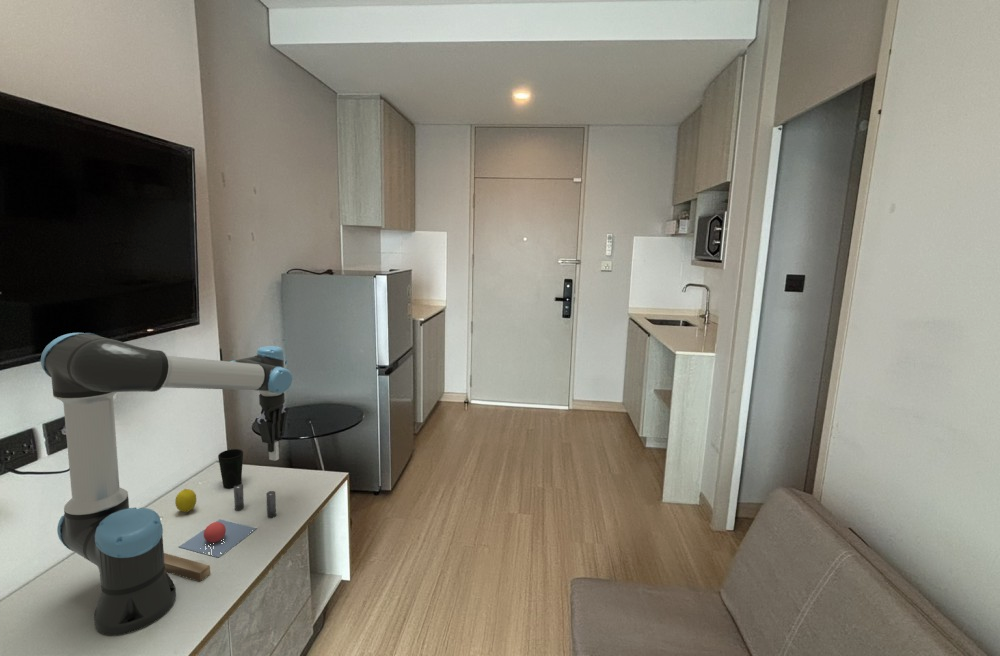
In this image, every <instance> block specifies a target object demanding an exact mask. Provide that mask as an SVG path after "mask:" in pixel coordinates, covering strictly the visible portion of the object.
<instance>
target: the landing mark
mask: <svg viewBox="0 0 1000 656" xmlns="http://www.w3.org/2000/svg"><path fill="white" fill-rule="evenodd" d="M216 522H220V523H222V524H224V526H225V528H226V532H225V535H224V537H223V538H222V539H221V540H222V541H221V540H219V541H217V542H214V544H213V543H211V542H208V541H206V540H205V538H204V531H205V529H202V531H200V532H199V533H197V534H195V535H194V536H192V537H191V538H189V539H188V540H186V541H185V542H184V543H181V545H179V546H178V548H179V547H180V548H179V549H183V548H184V550H187V549H188V550H187V551H190V550H192V551H191V552H194V551H196V552H195V553H198V552H200V553H199V554H202V553H203V552H204V554H203V555H205V553H206V554H208V552H210V555H211V549H212V555H213V556H215V557H214V558H217V557H218V558H217V559H219V558H221V557H222V556H224V553H225V552H226V553H227V552H229V551H230V550H232V547H233V548H234V547H235V546H237V545H238V544H239V543H240V542H242V541H243V540H245V539H246V538H247V537H248V536H249V535H248V534H250V532H252V533H254V532H255V531H256V530H257V529H258V528H257V527H254V526H249V525H245V524H241V523H238V522H237V523H236V522H232V521H228V520H224V519H218V520H216ZM255 529H256V530H255ZM252 530H253V531H254V530H255V531H254V532H253V531H252ZM250 535H251V534H250ZM246 536H247V537H246ZM245 537H246V538H245ZM223 539H224V540H223ZM242 539H243V540H242ZM241 540H242V541H241ZM223 541H224V542H225V543H224V542H223ZM238 542H239V543H238ZM221 543H223V544H221ZM237 543H238V544H237ZM205 544H206V545H205ZM210 544H211V545H210ZM208 545H209V546H210V547H211V549H210V547H208ZM205 546H206V548H207V549H206V550H205ZM213 546H214V549H213ZM200 548H201V549H200ZM228 550H229V551H228ZM220 552H221V553H222V554H220ZM226 553H225V554H226ZM212 555H211V556H210V557H213V556H212ZM220 556H221V557H220Z"/></svg>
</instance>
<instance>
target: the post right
mask: <svg viewBox="0 0 1000 656" xmlns="http://www.w3.org/2000/svg"><path fill="white" fill-rule="evenodd" d="M276 496H277V495H276V491H275V490H270V491H268V492H266V518H268V519H273V517H274V518H275V517H276V516H277V504H276V503H277V500H276V499H277V498H276Z"/></svg>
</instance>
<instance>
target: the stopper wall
mask: <svg viewBox="0 0 1000 656" xmlns="http://www.w3.org/2000/svg"><path fill="white" fill-rule="evenodd" d="M164 563H165V570H166V572H167V573H168V572H169V573H168V574H172V573H173V574H172V575H176V576H179V575H180V577H183V576H184V578H186V577H187V578H186V579H190V578H191V579H190V580H193V579H194V581H197V582H200V581H201V582H202V581H203V580H204V579H206V578H207V577H208V576H209V575H211V565H210V564H206V563H202V562H198V561H195V560H192V559H187V558H185V557H181V556H180V557H179V556H176V555H173V554H170V553H165V552H164Z"/></svg>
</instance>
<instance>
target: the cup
mask: <svg viewBox="0 0 1000 656" xmlns="http://www.w3.org/2000/svg"><path fill="white" fill-rule="evenodd" d="M217 457H218V464H219V469H220V475H221V480H222V486H223V488H224V489H227V490H229V489H230V490H232V489H234V486H235V485H237V484H242V476H243V463H244V462H243V460H244V451H243V450H242V449H239V448H231V449H227V450H224V451H221V452H220V453H219V454H218V456H217Z"/></svg>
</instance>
